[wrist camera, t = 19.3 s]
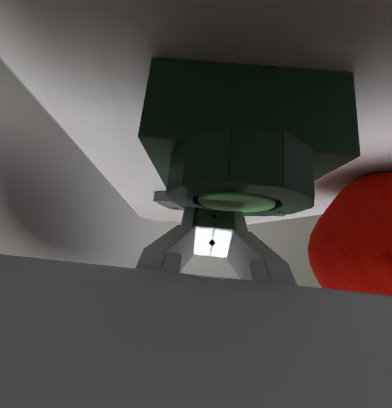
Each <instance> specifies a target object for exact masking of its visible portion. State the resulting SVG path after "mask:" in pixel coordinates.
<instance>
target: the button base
mask: <svg viewBox="0 0 392 408" xmlns="http://www.w3.org/2000/svg"><path fill="white" fill-rule="evenodd" d="M138 138H139V139H140V141H141V143H142V145H143V147H144V148H145V150H146V152H147V154H148V156H149V157H150V159H151V161H152V163H153V165H154V167H155V168H156V170H157V172H158V174H159V176H160V177H161V179H162V181H163V183H164V185H165V186H166V188H167V189H166V194H167V196H168V198H169V199H170V201H171V202H173V203H175V204H178V205H181V206H183V207H186V206H188V207H198V208H206V209H211V208H207V207H205V206H203V205H201V204H199V202H198V196H199V195H202V194H205V193H219V192H239V193H249V194H260V195H264V196H267V197H270V198H274V199H275V206H274V208H272V209H269V210H266V211H260V212H243V214H244V216H273V215H284V214H293V213H296V212H300V211H303V210H306V209H309V208H312V207H313V206H314V197H315V193H314V180H316V179H318V178H320V177H322V176H324V175H325V174H327V173H329V172H331V171H333V170H335V169H337V168H339V167H340V166H342V165H344V164H346V163H348V162H350V161H352V160H354V159H355V158H357V157H359V156H360V146H359V134H358V122H357V111H356V99H355V87H354V75H353V73H348V72H335V71H322V70H309V69H296V68H283V67H270V66H257V65H244V64H231V63H218V62H205V61H192V60H179V59H166V58H152V60H151V65H150V71H149V77H148V82H147V88H146V94H145V99H144V105H143V110H142V116H141V122H140V127H139V133H138ZM214 210H215V209H214Z"/></svg>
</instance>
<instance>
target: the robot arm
mask: <svg viewBox="0 0 392 408" xmlns="http://www.w3.org/2000/svg"><path fill="white" fill-rule="evenodd" d="M193 255H204V256H213V257H221V258H227V260H228V261H229V263H230V264H231V266H232V267H233V269H234V270H235V271H236V273H237V274H238V276H239V277H240V279H232V278H223V277H213V276H203V275H194V274H184V273H181V269H182V268H183V267H184V266H185V265H186V264H187V262H188V261H189V260H190V259H191V258H192V257H193ZM0 408H392V295H386V294H376V293H367V292H357V291H348V290H338V289H328V288H318V287H308V286H299V285H297V283H296V281H295V278H294V276H293V273H292V271H291V269H290V266H289V264H288V263H287V262H286V261H285V260H284V259H282V258H281V257H280V256H279V255H278V254H276V253H275V252H274V251H273V250H272V249H271V248H269V247H268V246H267V245H266V244H265V243H263V242H262V241H261V240H259V238H258V237H256V236H255V235H254V234H253V233H252V232H248V230H247V226H246V222H245V218H244V214H243V212H242V211H225V210H214V209H206V208H198V207H188V206H186V207H185V209H184V214H183V218H182V222H181V225H177V226H176V227H174V228H173V229H171V230H170V231H168V232H167V233H166V234H164V235H163V236H161V237H160V238H158V239H157V240H155V241H154V242H153V243H151V244H150V245H148V246H147V247H145V248H144V250H143V252H142V254H141V257H140V259H139V261H138V264H137V266H136V268H126V267H117V266H107V265H97V264H87V263H78V262H68V261H58V260H49V259H39V258H30V257H21V256H11V255H2V254H0Z"/></svg>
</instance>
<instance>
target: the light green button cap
mask: <svg viewBox="0 0 392 408" xmlns="http://www.w3.org/2000/svg"><path fill="white" fill-rule="evenodd" d="M198 202H199V204H201V205H203V206H205V207H207V208H211V209H215V210H225V211H242V212H260V211H266V210H269V209H272V208H274V206H275V199H274V198H270V197H267V196H264V195H260V194H249V193H239V192H219V193H205V194H202V195H199V196H198Z"/></svg>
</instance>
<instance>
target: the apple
mask: <svg viewBox="0 0 392 408" xmlns="http://www.w3.org/2000/svg"><path fill="white" fill-rule="evenodd" d="M308 254H309V261H310V266H311V268H312V270H313V272H314V274H315V276H316V278H317V280H318V282H319V284H320V285H321V286H322V288H328V289H338V290H348V291H357V292H367V293H376V294H386V295H392V172H378V173H373V174H369V175H365V176H363V177H361V178H358V179H356V180H355V181H353V182H352V183H350V184H349V185H347V186H346V187H345V188H343V189H342V190H341V192H340V193H339V194H338V195H337V196H336V198H335V199H334V200H333V202H332V203H331V204H330V205H329V207H328V208H327V209H326V211H325V212H324V213H323V215H322V216H321V217H320V218H319V220H318V222H317V224H316V225H315V227H314V229H313V231H312V233H311V235H310V240H309V245H308Z"/></svg>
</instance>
